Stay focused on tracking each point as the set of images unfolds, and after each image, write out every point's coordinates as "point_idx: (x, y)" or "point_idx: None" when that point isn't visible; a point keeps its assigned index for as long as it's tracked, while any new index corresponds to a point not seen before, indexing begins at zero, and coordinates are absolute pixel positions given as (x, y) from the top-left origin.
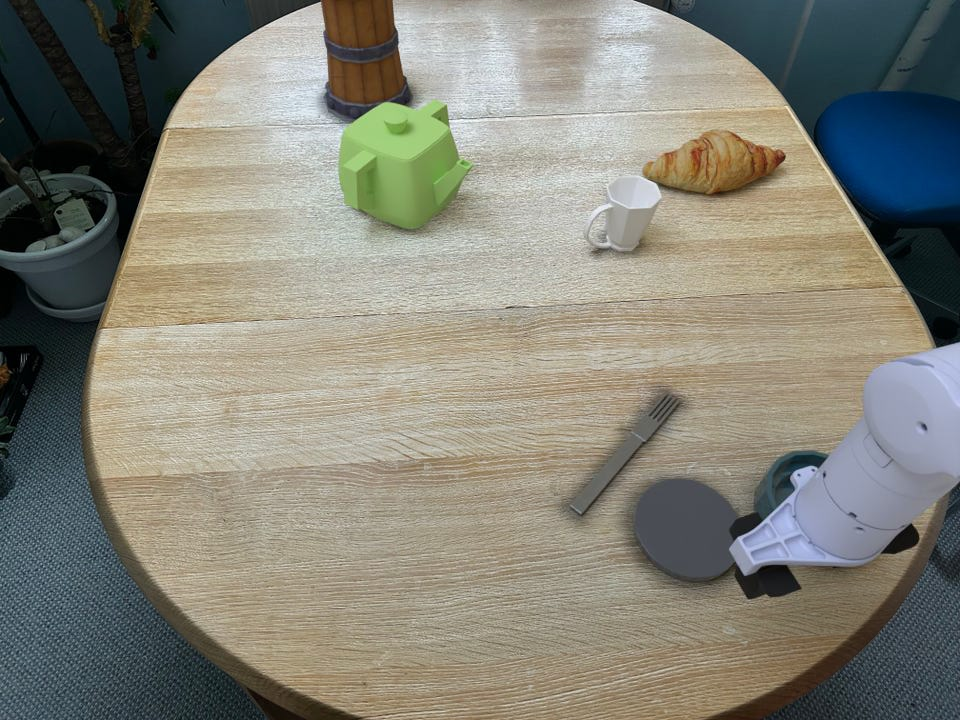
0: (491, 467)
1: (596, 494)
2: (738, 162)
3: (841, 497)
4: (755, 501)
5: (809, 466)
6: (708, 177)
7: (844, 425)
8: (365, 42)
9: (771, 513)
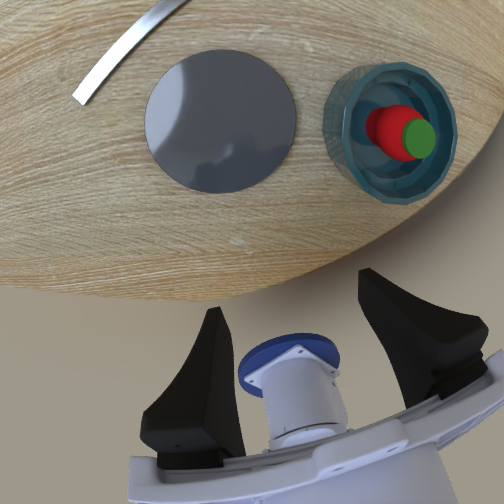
0: (8, 62)
1: (105, 75)
2: None
3: None
4: (328, 99)
5: (390, 448)
6: None
7: (455, 46)
8: None
9: (206, 500)
